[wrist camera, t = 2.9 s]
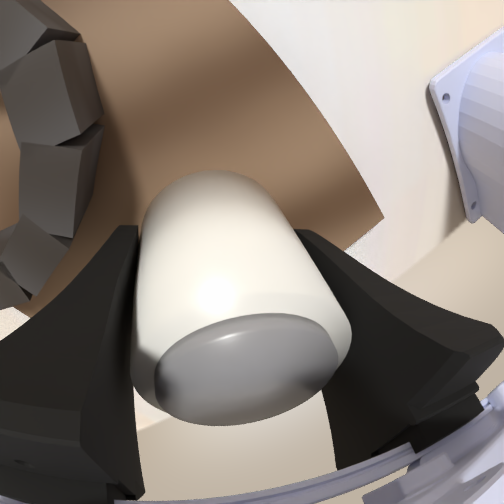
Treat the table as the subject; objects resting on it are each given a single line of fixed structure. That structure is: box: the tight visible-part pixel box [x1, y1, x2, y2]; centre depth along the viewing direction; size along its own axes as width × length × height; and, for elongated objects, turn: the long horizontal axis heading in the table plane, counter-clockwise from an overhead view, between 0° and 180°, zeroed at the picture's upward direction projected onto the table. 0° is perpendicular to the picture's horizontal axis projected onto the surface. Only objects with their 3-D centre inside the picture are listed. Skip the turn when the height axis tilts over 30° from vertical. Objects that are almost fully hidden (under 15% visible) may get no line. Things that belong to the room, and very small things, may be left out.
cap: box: [130, 170, 352, 426], centre depth 8 cm, size 5×5×6 cm
